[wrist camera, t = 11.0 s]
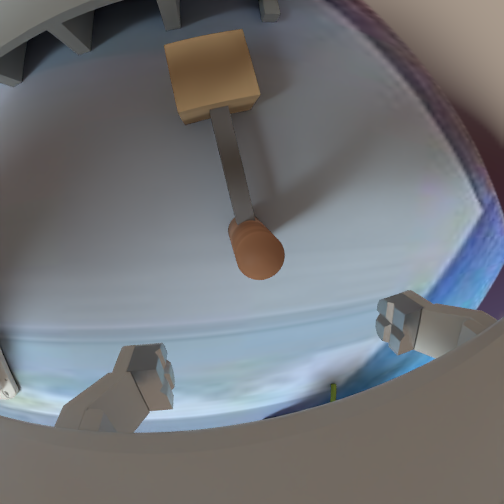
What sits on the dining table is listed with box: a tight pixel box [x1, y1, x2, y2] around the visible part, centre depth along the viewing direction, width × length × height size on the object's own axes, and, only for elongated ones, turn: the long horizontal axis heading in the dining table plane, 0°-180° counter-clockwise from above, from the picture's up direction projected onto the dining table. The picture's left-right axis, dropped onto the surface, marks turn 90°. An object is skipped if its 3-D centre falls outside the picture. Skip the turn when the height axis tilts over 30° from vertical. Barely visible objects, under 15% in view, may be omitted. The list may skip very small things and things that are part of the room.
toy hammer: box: [164, 29, 285, 280], centre depth 16 cm, size 15×5×7 cm, turn 13°
